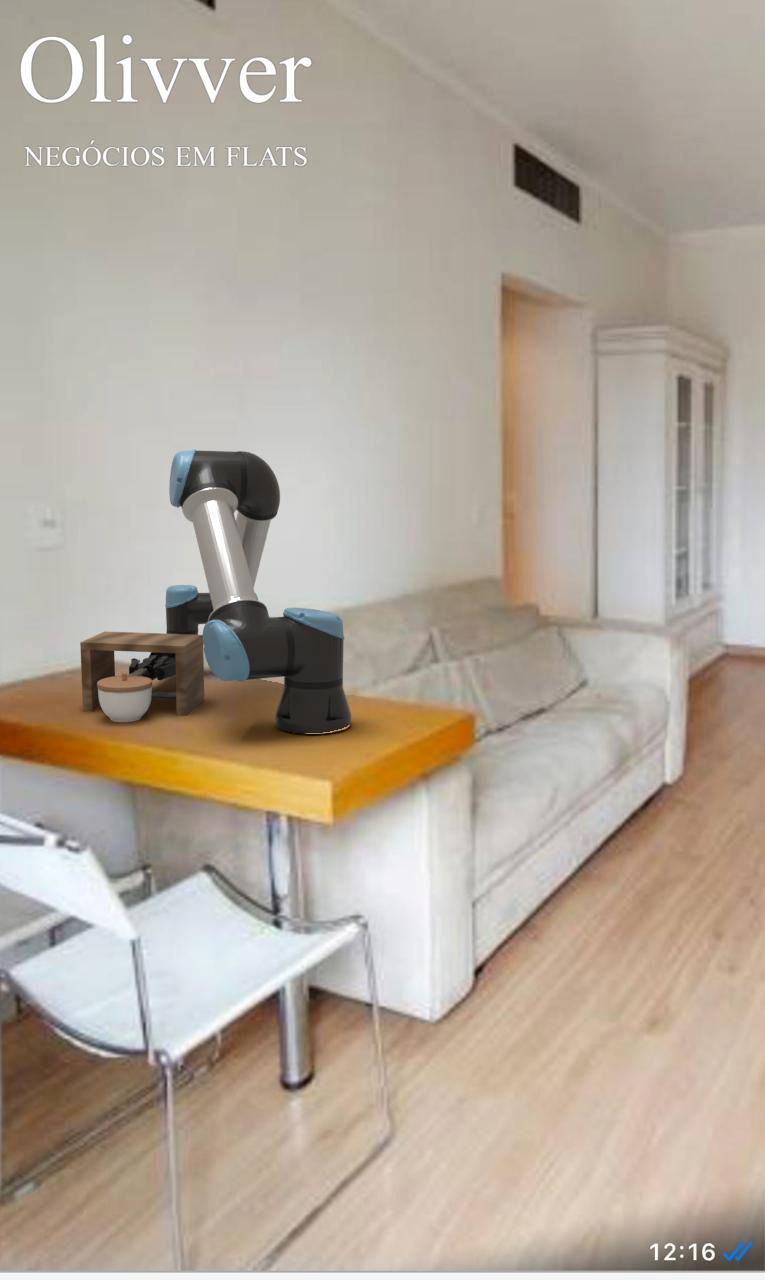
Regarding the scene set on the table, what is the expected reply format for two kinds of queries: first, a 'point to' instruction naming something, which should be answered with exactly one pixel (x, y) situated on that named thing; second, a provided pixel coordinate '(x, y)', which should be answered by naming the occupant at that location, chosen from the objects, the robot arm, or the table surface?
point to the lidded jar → (125, 697)
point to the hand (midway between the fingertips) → (132, 681)
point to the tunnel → (186, 648)
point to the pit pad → (164, 695)
